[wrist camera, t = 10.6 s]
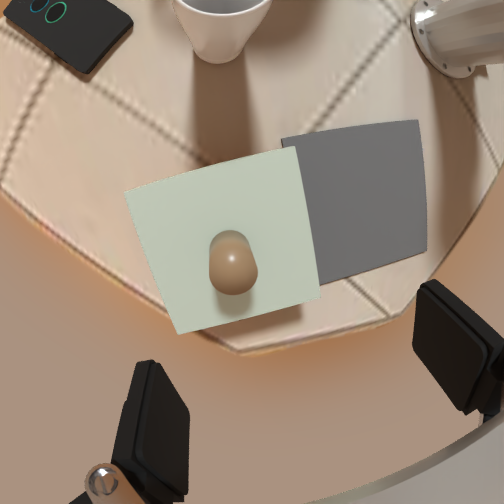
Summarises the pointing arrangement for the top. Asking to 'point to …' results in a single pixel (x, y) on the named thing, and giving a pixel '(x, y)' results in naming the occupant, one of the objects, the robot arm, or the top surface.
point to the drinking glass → (220, 25)
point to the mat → (363, 195)
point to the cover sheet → (221, 208)
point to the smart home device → (72, 27)
